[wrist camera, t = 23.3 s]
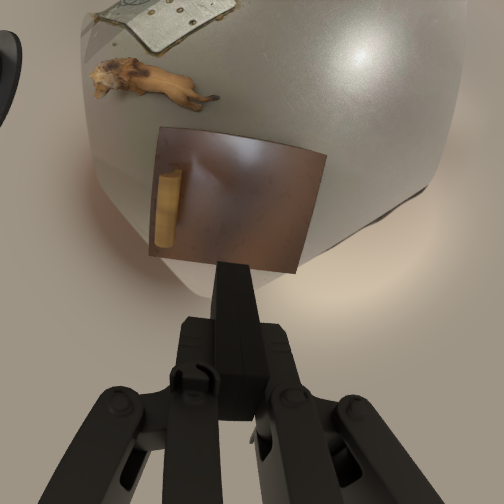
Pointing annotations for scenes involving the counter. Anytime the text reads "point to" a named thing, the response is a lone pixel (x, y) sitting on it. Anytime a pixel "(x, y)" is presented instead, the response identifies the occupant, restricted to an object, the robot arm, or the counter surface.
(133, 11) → the counter surface
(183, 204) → the chest lid
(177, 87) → the lion figurine
